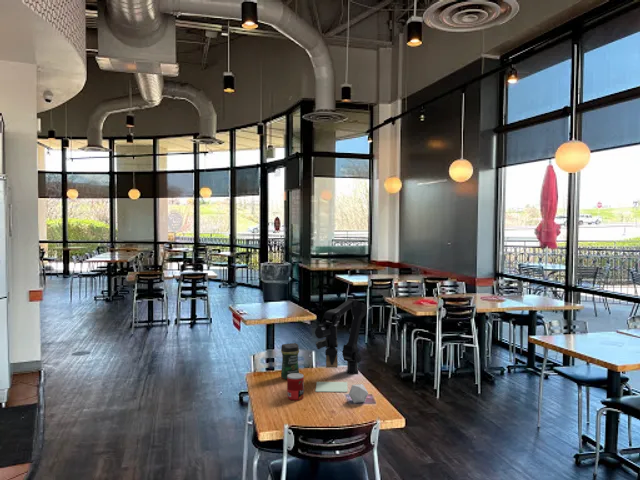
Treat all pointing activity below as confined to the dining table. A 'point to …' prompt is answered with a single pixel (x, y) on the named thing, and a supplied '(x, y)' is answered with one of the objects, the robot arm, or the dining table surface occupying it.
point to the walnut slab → (328, 364)
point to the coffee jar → (289, 359)
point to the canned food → (295, 386)
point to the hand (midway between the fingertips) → (331, 363)
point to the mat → (331, 387)
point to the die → (358, 393)
